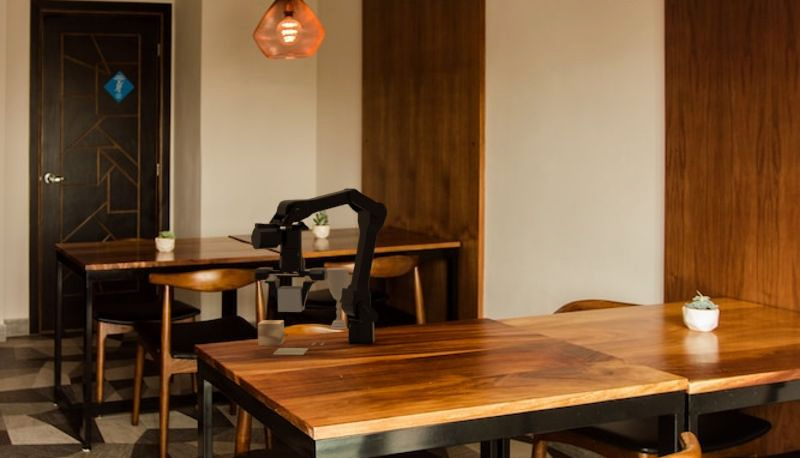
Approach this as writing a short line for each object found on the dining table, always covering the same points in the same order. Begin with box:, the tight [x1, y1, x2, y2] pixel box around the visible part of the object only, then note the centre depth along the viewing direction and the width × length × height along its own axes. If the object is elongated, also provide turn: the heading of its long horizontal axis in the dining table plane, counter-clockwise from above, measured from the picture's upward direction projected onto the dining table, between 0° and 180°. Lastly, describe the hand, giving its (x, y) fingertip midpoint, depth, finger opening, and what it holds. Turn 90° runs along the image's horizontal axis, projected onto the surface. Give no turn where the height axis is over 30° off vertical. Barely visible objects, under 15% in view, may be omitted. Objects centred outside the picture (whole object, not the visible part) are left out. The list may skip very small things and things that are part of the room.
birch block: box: [257, 319, 285, 347], centre depth 279 cm, size 6×6×6 cm
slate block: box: [277, 285, 306, 313], centre depth 267 cm, size 6×6×6 cm
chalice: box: [326, 267, 351, 330], centre depth 304 cm, size 7×7×18 cm
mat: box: [272, 347, 309, 356], centre depth 267 cm, size 8×8×1 cm
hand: (291, 306), depth 267 cm, fingers closed on slate block, 6 cm apart
